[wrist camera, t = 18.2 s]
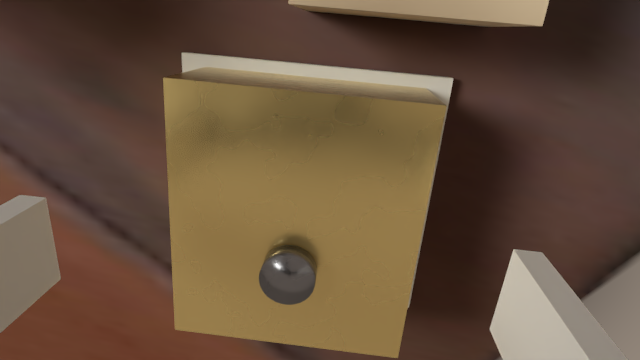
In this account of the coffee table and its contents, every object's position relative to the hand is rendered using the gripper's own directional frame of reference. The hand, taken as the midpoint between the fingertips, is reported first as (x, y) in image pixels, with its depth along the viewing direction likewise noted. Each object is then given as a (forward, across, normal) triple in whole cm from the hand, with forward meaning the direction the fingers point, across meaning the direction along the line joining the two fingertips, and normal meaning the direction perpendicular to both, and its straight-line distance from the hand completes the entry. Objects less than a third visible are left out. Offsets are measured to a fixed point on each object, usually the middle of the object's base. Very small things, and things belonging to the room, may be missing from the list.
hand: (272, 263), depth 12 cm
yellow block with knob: (+7, 0, -1) cm, 7 cm away
